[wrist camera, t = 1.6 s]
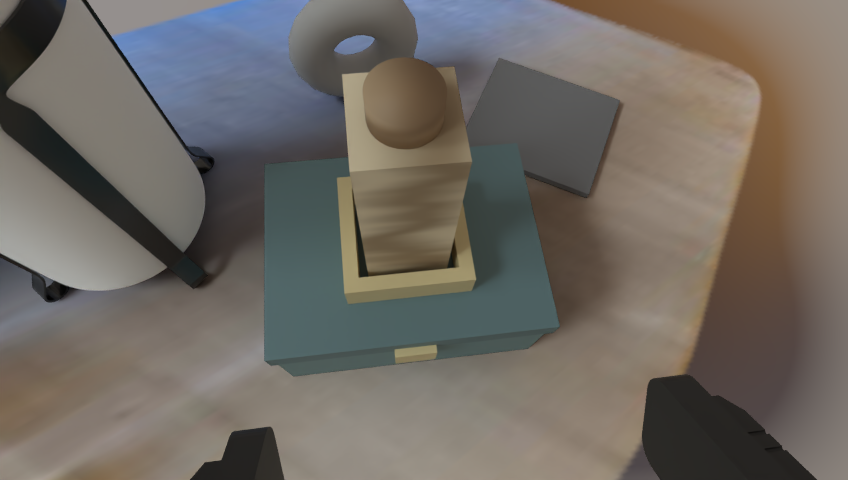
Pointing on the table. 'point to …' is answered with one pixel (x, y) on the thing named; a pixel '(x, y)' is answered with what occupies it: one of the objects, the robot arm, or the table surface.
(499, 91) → the rubber mat
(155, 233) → the coffee press
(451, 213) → the wooden block
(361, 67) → the donut
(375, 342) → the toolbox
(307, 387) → the table surface
